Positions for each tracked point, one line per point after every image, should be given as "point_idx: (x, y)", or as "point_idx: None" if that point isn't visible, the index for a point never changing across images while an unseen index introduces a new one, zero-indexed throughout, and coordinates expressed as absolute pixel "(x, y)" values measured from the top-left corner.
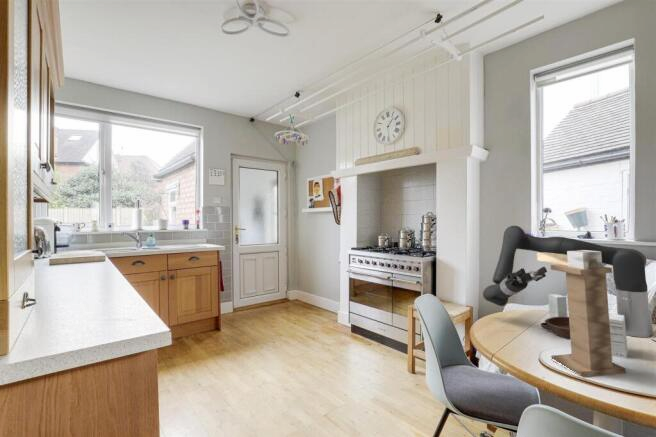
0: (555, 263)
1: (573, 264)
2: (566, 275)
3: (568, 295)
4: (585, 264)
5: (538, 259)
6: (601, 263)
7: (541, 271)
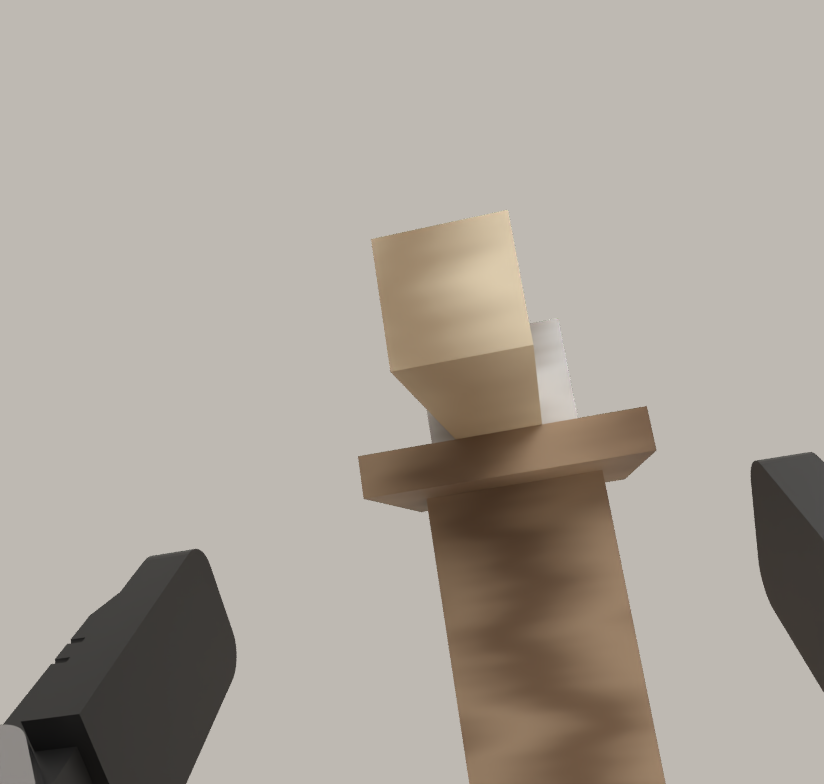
0: (539, 412)
1: None
2: (609, 506)
3: (642, 680)
4: None
5: (529, 326)
6: None
7: (175, 698)
